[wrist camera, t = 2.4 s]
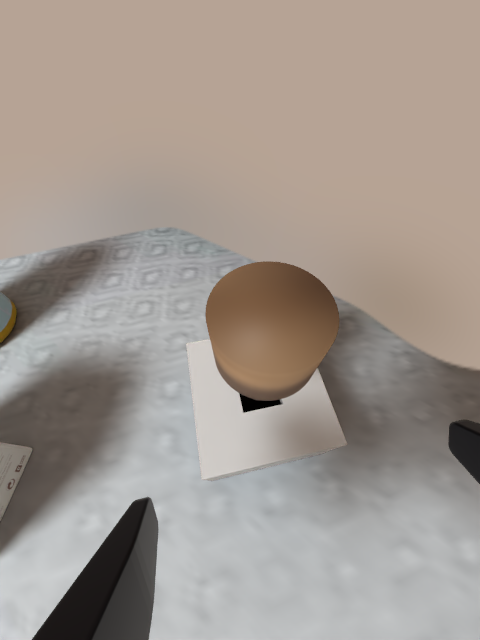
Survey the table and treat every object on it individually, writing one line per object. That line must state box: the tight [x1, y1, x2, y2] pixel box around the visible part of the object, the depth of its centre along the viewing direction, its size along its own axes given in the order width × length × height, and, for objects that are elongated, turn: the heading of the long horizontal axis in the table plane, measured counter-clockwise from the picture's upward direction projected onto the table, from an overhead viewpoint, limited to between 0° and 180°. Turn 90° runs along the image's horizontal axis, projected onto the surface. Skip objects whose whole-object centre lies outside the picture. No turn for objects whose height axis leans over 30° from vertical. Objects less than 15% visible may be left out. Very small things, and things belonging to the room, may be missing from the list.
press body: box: [186, 339, 347, 481], centre depth 18 cm, size 8×8×6 cm
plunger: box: [206, 262, 339, 401], centre depth 13 cm, size 4×4×9 cm
